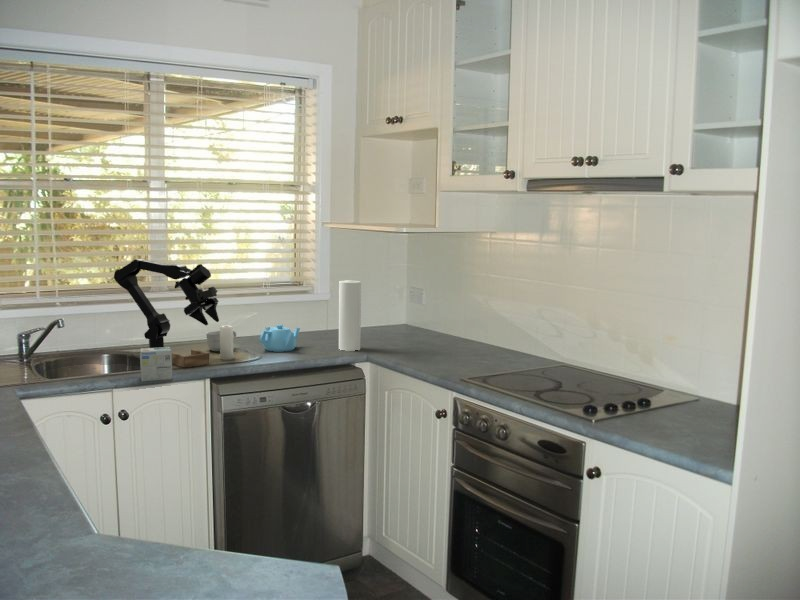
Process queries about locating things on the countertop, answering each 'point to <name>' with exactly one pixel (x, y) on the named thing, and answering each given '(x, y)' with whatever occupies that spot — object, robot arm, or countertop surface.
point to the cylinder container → (349, 315)
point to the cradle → (190, 359)
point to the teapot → (279, 338)
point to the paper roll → (226, 342)
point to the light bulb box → (156, 363)
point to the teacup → (215, 340)
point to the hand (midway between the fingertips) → (212, 323)
